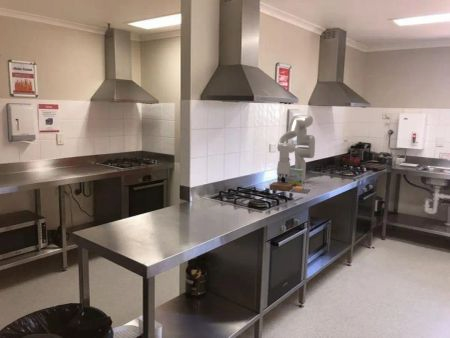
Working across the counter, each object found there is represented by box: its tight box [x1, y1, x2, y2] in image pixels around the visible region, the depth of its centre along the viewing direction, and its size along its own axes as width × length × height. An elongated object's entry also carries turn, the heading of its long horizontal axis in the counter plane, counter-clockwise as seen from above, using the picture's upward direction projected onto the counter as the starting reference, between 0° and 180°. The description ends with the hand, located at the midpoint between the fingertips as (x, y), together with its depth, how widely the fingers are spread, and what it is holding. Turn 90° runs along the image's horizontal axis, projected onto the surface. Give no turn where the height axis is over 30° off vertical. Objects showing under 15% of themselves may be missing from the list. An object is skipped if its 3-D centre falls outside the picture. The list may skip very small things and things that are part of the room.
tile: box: [293, 186, 305, 192], centre depth 291 cm, size 9×6×2 cm, turn 158°
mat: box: [290, 188, 311, 194], centre depth 291 cm, size 16×13×1 cm
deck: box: [269, 181, 294, 193], centre depth 296 cm, size 14×16×4 cm
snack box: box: [276, 167, 304, 188], centre depth 311 cm, size 21×6×15 cm, turn 62°
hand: (283, 182), depth 296 cm, fingers closed
